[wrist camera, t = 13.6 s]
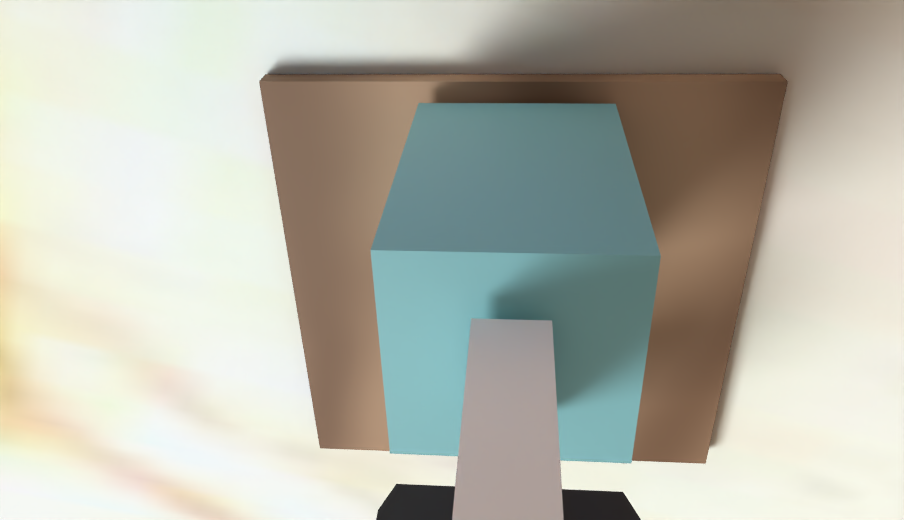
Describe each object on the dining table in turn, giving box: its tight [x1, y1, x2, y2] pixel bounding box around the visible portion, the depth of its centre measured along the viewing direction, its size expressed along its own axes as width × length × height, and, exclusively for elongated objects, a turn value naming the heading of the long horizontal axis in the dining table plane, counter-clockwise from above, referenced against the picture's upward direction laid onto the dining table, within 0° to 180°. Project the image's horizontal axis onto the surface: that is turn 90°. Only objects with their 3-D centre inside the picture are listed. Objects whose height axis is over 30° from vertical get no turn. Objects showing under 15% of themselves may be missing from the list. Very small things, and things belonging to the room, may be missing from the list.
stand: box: [259, 74, 787, 463], centre depth 21 cm, size 14×14×8 cm
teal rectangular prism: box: [370, 103, 661, 463], centre depth 18 cm, size 5×5×8 cm
